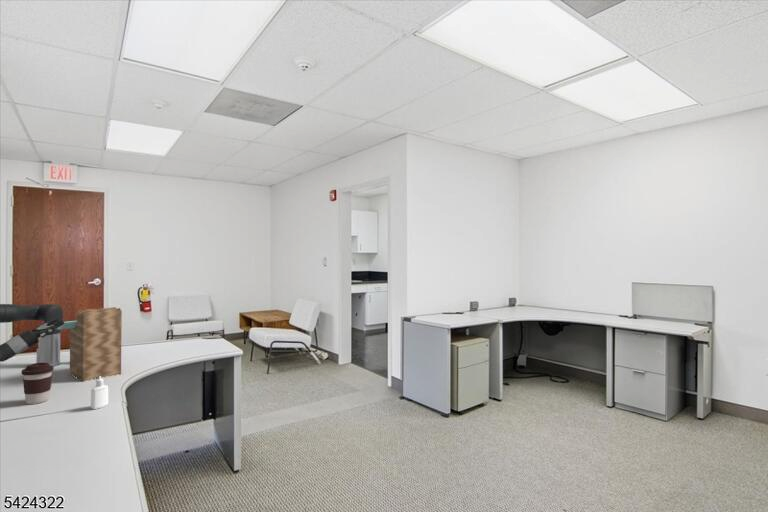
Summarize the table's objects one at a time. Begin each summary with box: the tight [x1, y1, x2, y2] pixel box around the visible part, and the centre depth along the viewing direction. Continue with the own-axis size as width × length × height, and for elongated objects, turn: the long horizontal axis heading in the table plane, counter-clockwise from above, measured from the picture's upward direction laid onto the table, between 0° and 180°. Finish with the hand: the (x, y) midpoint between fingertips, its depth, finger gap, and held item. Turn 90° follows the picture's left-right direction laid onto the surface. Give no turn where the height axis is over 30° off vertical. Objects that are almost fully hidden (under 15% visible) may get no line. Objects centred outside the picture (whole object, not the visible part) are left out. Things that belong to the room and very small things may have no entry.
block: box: [56, 320, 77, 331], centre depth 207 cm, size 26×4×3 cm, turn 142°
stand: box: [69, 307, 123, 382], centre depth 205 cm, size 16×20×33 cm
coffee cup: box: [21, 363, 55, 405], centre depth 165 cm, size 10×10×15 cm
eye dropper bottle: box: [90, 376, 109, 410], centre depth 159 cm, size 4×6×12 cm
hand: (60, 320), depth 198 cm, fingers open, 8 cm apart
